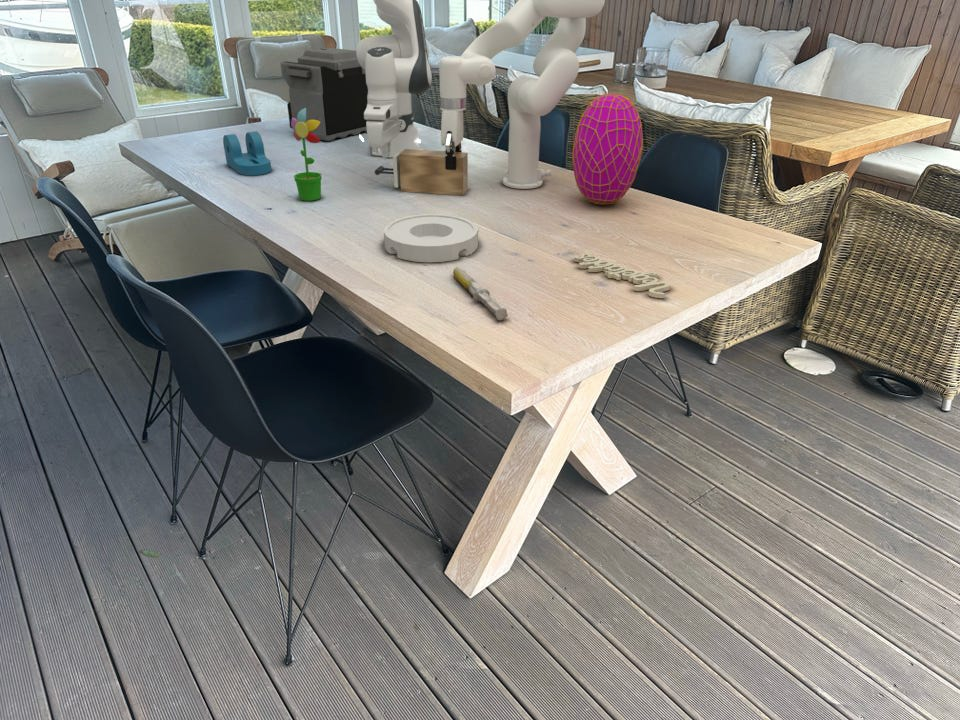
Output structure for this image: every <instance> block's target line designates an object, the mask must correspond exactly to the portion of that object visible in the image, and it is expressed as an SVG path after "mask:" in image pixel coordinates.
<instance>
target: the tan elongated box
mask: <svg viewBox="0 0 960 720" xmlns="http://www.w3.org/2000/svg"><path fill="white" fill-rule="evenodd" d="M468 154H469V153H468V152H463V151H462V152H455V156H456V170H446V169H445V150H431V149H429V150H428V149H423V150H414V149H405V150H403V151H402V152H401V153H400V154H399V164H400V184H401V185H400V192H406V193H407V192H408V193H418V194H419V193H421V194H435V195H437V194H438V195H448V196H449V195H450V196H465V194H466V193H467V191H468V189H469V187H468V185H469V183H468V182H469V181H468V180H469V177H468V176H469V173H468V172H469V169H468V168H469V167H468V164H469V163H468V161H469V160H468V159H469V155H468Z"/></svg>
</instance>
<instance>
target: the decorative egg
mask: <svg viewBox="0 0 960 720" xmlns="http://www.w3.org/2000/svg"><path fill="white" fill-rule="evenodd" d="M643 146H644V136H643V124H642V120H641V116H640V113H639V111H638V109H637V107H636V105H635V103H634V102H633V101H632V100H631V99H630V98H629V97H627V96H625V95H622V94H620V93H614V92H613V93H612V92H611V93H610V92H609V93H604V94H601V95H598V96H596V97H594V98H593V99H592V100H590V101H589V103H588V104H587V106H586V107H585V109H584V111H583V112H582V114H581V116H580V118H579V120H578V122H577V127H576V130H575V135H574V140H573V146H572V153H571V158H572V159H571V160H572V169H573V178H574V180H575V182H576V186H577V188H578V190H579V192H580V194H581V195H582V196H583V197H584V198H585V199H586V200H587V201H588V202H590V203H593V204H596V205H612V204H615V203H617V202H618V201H620V200H621V199H623V198H624V196H625V195H626V194H627V193H628V191H629V190H630V189H631V186H632V185H633V183H634V181H635V179H636V176H637V172H638V170H639V166H640V162H641V159H642V155H643V148H644V147H643Z"/></svg>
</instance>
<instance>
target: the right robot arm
mask: <svg viewBox="0 0 960 720" xmlns="http://www.w3.org/2000/svg"><path fill="white" fill-rule="evenodd" d="M605 2H606V0H517V1H516V2H515V3H514V5H513V6H512V7H511V8H510V9H509V10H508V11H507V13H505V15H503V17H502V18H501V19H500V20H498V21H497V22H496V23H493V25H491V26H490V27H489V28H488V29H487V28H486V30H485V31H483V32H482V33H481V34H479V35H478V36H477V37H476V38H475V39H474V40H473V41H472V42H470V44H469V46H467V48H465V50H464V51H463V52H462V54H461V55H460V56H458V55H447V56H443V57H441V58H440V59H439V63H438V65H439V66H438V67H439V69H438V70H439V71H438V72H439V74H438V75H439V109H440V111H441V119H440V120H441V122H440V123H441V124H440V145H441V146H442V147H444V148H445V150H444V151H445V169H446V170H456V156H455V152H463V151H462V142H463V141H464V133H465V132H464V127H465V126H464V125H465V124H464V111H466V110H467V85H476V86H484V85H487V84H489V83H491V82H492V81H494V79H495V77H496V73H497V72H496V70H497V69H496V66H495V63H494V62H493V60H492V59H493V58H494V57H495V56H497V55H498V54H500V53H501V52H503V51H506V50H509V49H511V48H514V47H517V46H519V45H521V44H522V43H524V42H525V41H526V39H528V37H529V36H530V35H531V34H532V33H533V31H534V30H536V28H538V26H539V25H540V24H541V23H542V22H543V21H544V20H545V19H546V17H547V18H554V19H555V18H556V19H559V21H558V23H557V26H556V28H555V30H554V31H553V33H552V34H551V35H550V37H549V38H548V40H546V42H545V43H544V45H543V46H542V47H541V49H540V50H539V52H537V54H536V56H535V58H534V60H533V63H532V69H533V72H534V74H535V75H536V76H537V77H538V78H535V77H531V76H527V75H525V76H519V77H516V78H515V79H514V80H513V81H512V82H511V83H510V85H509V86H508V91H507V105H508V106H507V107H508V116H509V117H508V118H509V120H508V121H509V122H508V123H509V127H508V128H509V129H508V157H507V176H504V177H503V179H502V184H503V186H505V187H508V188H511V189H519V190H530V189H531V190H532V189H536V188H539V187H541V186H542V185H543V179H542V178H543V177H548V176H549V177H550V176H552V173H553V172H552V169H544V168H539V165H540V164H539V163H540V162H539V160H540V144H541V143H540V142H541V140H540V139H541V131H542V129H541V128H542V127H541V126H542V125H541V117H544V116H546V115H548V114H549V113H551V112H552V111H553V110H554V109H555V108H556V106H557V105H558V104H559V102H560V101H561V100H562V98H563V97H564V96H565V95H566V94H567V92H568V91H569V89H570V88H571V87H572V85H574V82H575V81H576V80H577V77H578V74H579V70H580V61H579V58H578V56H577V54H576V53H577V51H578V49H579V48H580V46H581V45H582V43H583V41H584V38H585V36H586V29H587V19H589V18H593V17H595V16H598V14H600V12H601V11H602V10H603V8H604V6H605Z"/></svg>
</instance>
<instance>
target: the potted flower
mask: <svg viewBox="0 0 960 720" xmlns="http://www.w3.org/2000/svg"><path fill="white" fill-rule="evenodd" d="M305 122H306V108H304V109H302V110H301V111H300V112H299V113H298V115H297V120H296V119H295V118H292V121H291V126H292V128H291V129H293V132H292V134H293V137H294V138H295V139H296V141H297V142H300V141H301V140H302V147H303V149H301V150H300V155H301V156H302V157H304V165H305V171H303V172H299V173H296V174H294V175H293V179H294V182H295V185H296V188H297V193H298V197H299V199H300V200H301V201H306V202H311V201H317V200H320V199H321V197H322V180H323V179H322V178H323V177H322V174H321V173H320V172H316V171H309V165H312V164H314V163H315V159H314V158H312V157H308V156H307V148H306V141H307V142H309V143H311V144H318V143H321V142H322V140H320V139H319V138H318V137H317V136H316V135H315V134H313V133H312V132H309V131H313V130H315V129H316V128H317V127H318V126H319V124H320V121H318V120H309V121H307V122H306V123H305ZM294 129H295V131H294Z"/></svg>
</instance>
